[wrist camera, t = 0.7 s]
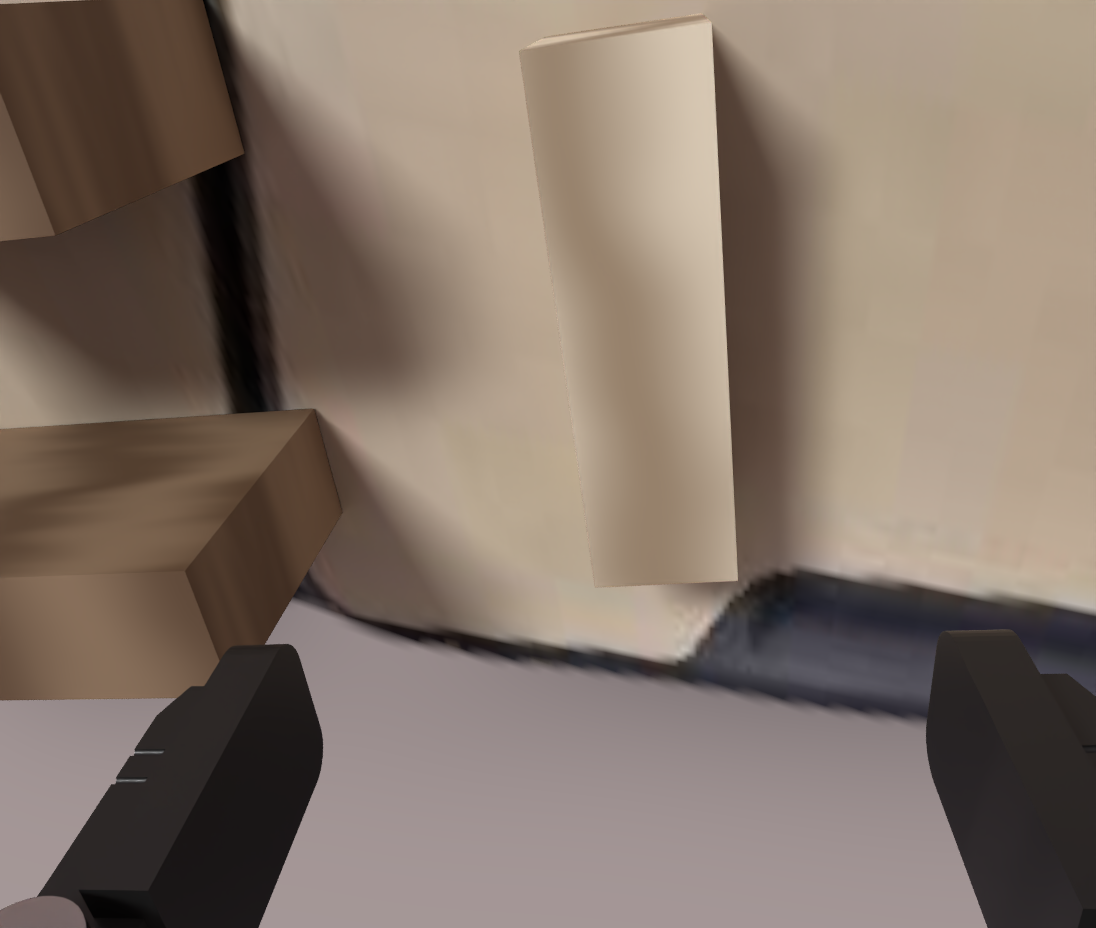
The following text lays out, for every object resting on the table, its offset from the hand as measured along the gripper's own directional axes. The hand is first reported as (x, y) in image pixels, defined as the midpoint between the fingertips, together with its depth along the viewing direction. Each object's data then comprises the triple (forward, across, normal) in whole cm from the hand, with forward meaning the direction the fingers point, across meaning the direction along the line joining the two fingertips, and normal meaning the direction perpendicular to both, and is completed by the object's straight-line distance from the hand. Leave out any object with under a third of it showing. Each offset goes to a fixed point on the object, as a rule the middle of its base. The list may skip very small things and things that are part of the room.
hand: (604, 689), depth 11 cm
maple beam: (+17, -1, 0) cm, 17 cm away
